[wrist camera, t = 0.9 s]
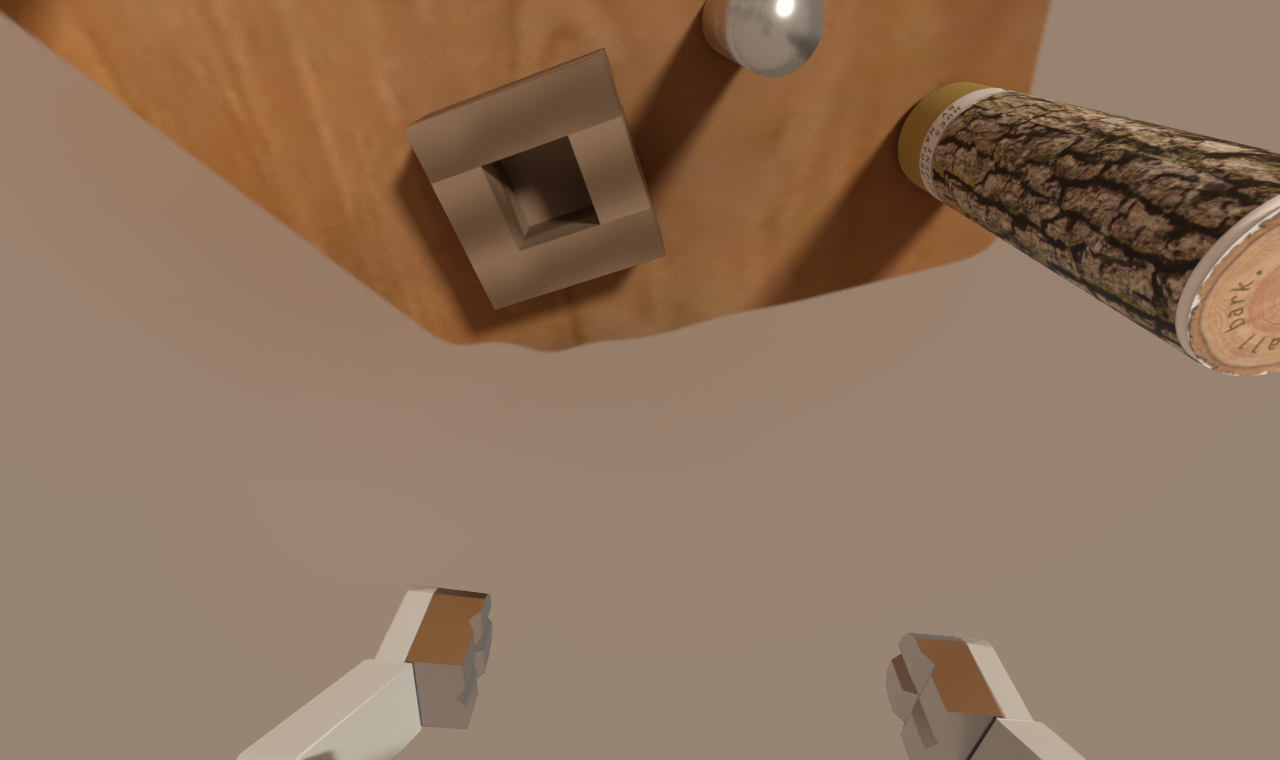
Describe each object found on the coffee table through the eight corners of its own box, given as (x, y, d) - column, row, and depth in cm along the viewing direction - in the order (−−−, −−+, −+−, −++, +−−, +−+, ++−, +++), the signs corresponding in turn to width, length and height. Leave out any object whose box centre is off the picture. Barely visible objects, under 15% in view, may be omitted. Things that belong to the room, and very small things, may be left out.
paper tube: (914, 206, 43) (1202, 408, 22) (877, 123, 40) (1170, 263, 18) (1009, 148, 41) (1428, 308, 20) (978, 56, 38) (1435, 127, 16)
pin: (693, -7, 35) (722, -10, 25) (759, -32, 35) (816, -45, 25) (710, 65, 37) (743, 89, 27) (772, 43, 37) (830, 58, 27)
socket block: (429, 113, 38) (402, 128, 34) (604, 47, 37) (601, 54, 32) (507, 278, 45) (494, 310, 40) (660, 228, 43) (665, 255, 38)
